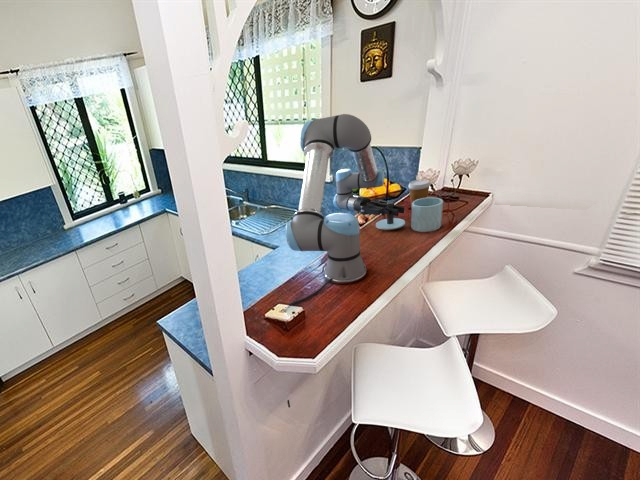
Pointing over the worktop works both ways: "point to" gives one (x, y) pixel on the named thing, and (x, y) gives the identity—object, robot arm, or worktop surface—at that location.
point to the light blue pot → (426, 214)
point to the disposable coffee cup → (418, 189)
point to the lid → (390, 220)
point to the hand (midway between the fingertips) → (400, 211)
